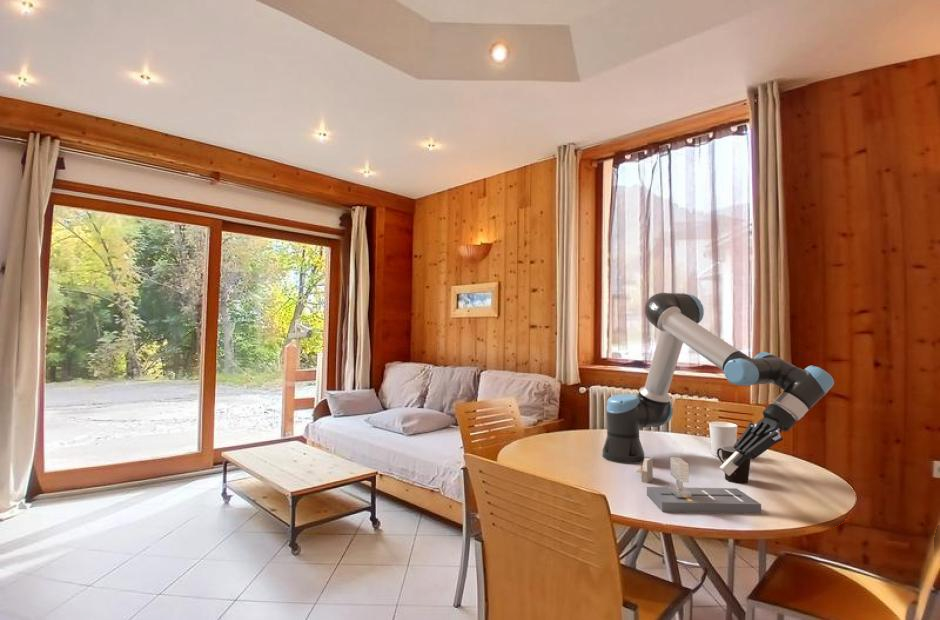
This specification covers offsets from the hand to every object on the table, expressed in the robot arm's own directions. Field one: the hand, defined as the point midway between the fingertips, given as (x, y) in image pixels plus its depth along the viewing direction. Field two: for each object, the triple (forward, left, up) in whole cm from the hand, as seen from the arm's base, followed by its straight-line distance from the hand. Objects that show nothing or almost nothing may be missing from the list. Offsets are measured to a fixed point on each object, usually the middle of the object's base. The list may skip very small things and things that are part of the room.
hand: (724, 471), depth 129 cm
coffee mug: (+1, +27, -9) cm, 28 cm away
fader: (-11, -6, -6) cm, 14 cm away
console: (-6, -3, -9) cm, 11 cm away
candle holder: (-4, +57, -9) cm, 58 cm away
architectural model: (-23, +10, -10) cm, 27 cm away
